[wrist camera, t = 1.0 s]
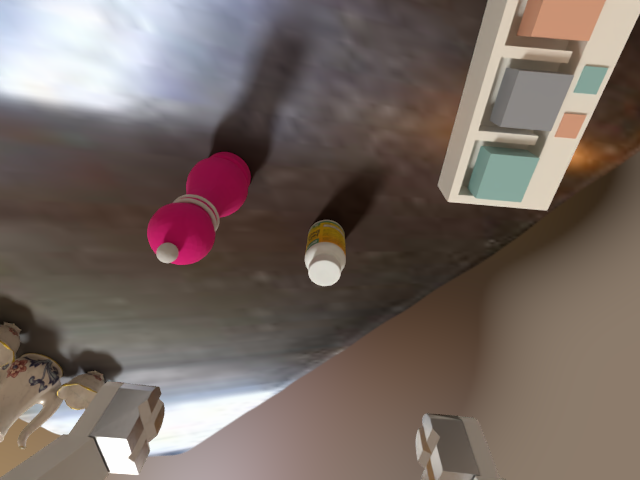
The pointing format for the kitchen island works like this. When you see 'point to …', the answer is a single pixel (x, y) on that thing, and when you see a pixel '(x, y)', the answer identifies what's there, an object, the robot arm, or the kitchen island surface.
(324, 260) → the supplement bottle
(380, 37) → the kitchen island surface
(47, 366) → the chinaware
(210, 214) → the pepper mill
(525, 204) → the three-slot colour tray
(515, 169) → the teal key
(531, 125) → the slate key
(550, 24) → the terracotta key
